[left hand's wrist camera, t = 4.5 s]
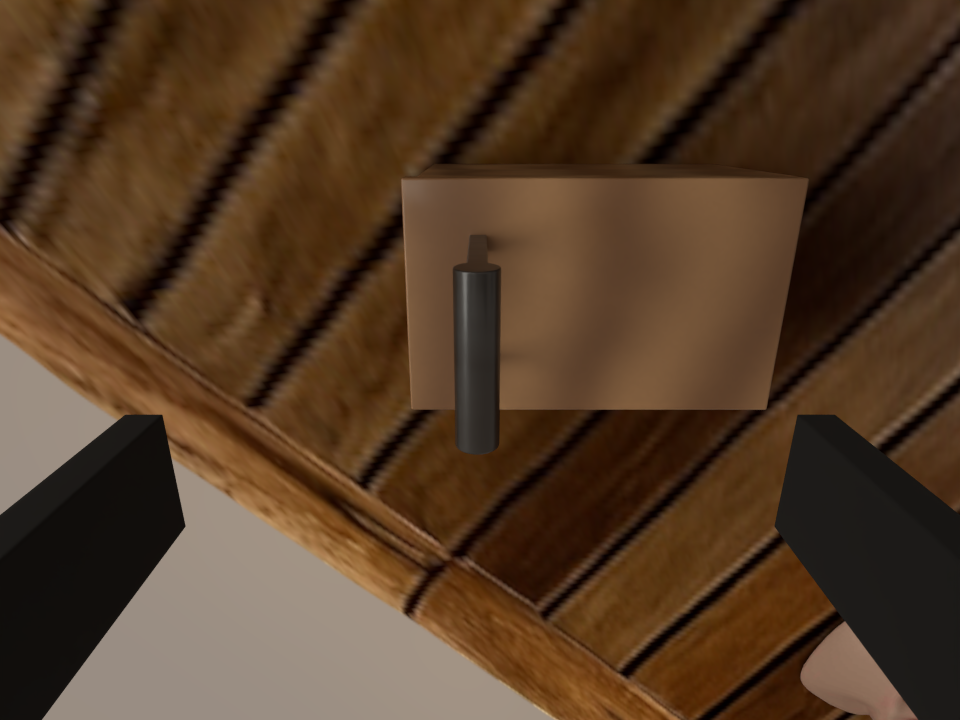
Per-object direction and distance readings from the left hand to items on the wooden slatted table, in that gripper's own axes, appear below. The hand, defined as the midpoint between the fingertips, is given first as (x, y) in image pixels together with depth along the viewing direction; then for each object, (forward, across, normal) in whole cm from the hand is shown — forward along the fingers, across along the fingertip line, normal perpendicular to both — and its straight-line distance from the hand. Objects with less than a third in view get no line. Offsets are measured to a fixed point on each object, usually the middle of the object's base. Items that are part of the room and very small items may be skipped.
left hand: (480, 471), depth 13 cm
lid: (+14, +5, 0) cm, 15 cm away
